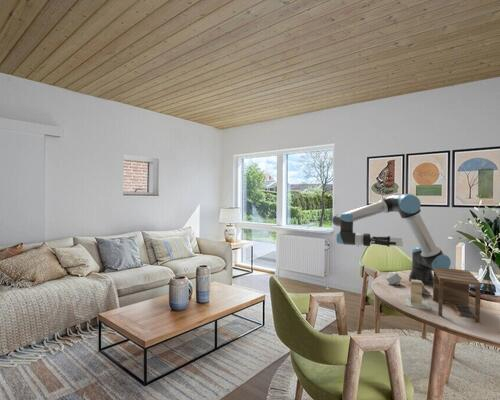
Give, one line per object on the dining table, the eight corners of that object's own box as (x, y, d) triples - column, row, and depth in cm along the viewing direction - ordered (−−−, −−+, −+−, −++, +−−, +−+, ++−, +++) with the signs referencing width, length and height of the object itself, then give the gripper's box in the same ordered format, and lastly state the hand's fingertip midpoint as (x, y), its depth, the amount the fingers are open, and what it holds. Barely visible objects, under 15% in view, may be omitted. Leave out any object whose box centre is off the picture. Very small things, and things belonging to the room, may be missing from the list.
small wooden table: (432, 299, 166) (433, 267, 166) (467, 304, 159) (468, 270, 159) (438, 316, 144) (439, 278, 144) (479, 322, 137) (480, 282, 136)
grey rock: (400, 288, 189) (405, 274, 192) (387, 280, 191) (393, 267, 194) (394, 288, 197) (399, 276, 200) (382, 281, 198) (387, 269, 201)
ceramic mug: (411, 294, 175) (412, 282, 174) (410, 290, 182) (410, 278, 182) (431, 297, 171) (432, 284, 170) (429, 293, 178) (429, 281, 178)
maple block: (410, 301, 162) (410, 279, 162) (420, 302, 160) (421, 280, 160) (410, 304, 158) (411, 281, 158) (421, 305, 156) (422, 283, 155)
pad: (405, 299, 167) (405, 298, 167) (427, 302, 162) (427, 301, 162) (405, 305, 157) (405, 305, 157) (429, 309, 152) (429, 309, 152)
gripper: (364, 242, 192) (401, 245, 182) (360, 249, 169) (402, 252, 160) (365, 231, 192) (402, 233, 182) (361, 235, 169) (403, 238, 160)
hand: (402, 242), depth 171 cm, fingers open, 13 cm apart
